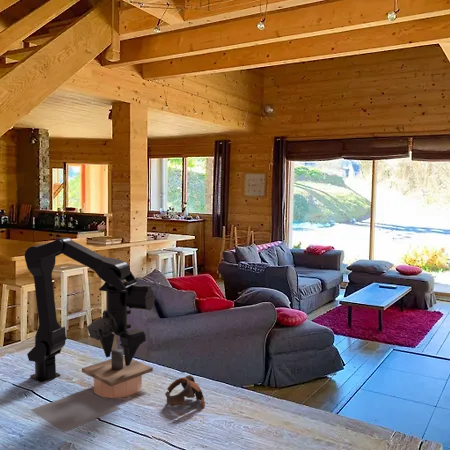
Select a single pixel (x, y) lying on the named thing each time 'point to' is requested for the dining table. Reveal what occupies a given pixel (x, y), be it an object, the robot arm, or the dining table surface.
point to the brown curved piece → (184, 391)
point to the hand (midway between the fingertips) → (117, 361)
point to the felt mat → (75, 410)
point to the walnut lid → (116, 369)
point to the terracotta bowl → (118, 388)
